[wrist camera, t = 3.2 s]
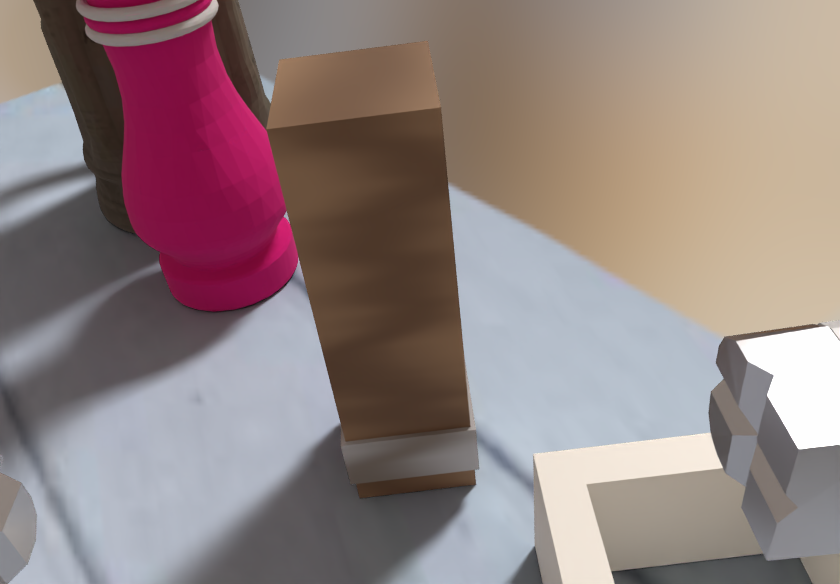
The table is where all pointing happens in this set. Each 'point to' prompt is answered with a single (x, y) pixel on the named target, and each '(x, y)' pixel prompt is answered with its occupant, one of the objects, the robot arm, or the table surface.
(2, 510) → the robot arm
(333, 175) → the rail
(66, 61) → the beer stein
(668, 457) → the socket block
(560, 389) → the table surface
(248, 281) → the pepper mill
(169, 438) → the table surface
